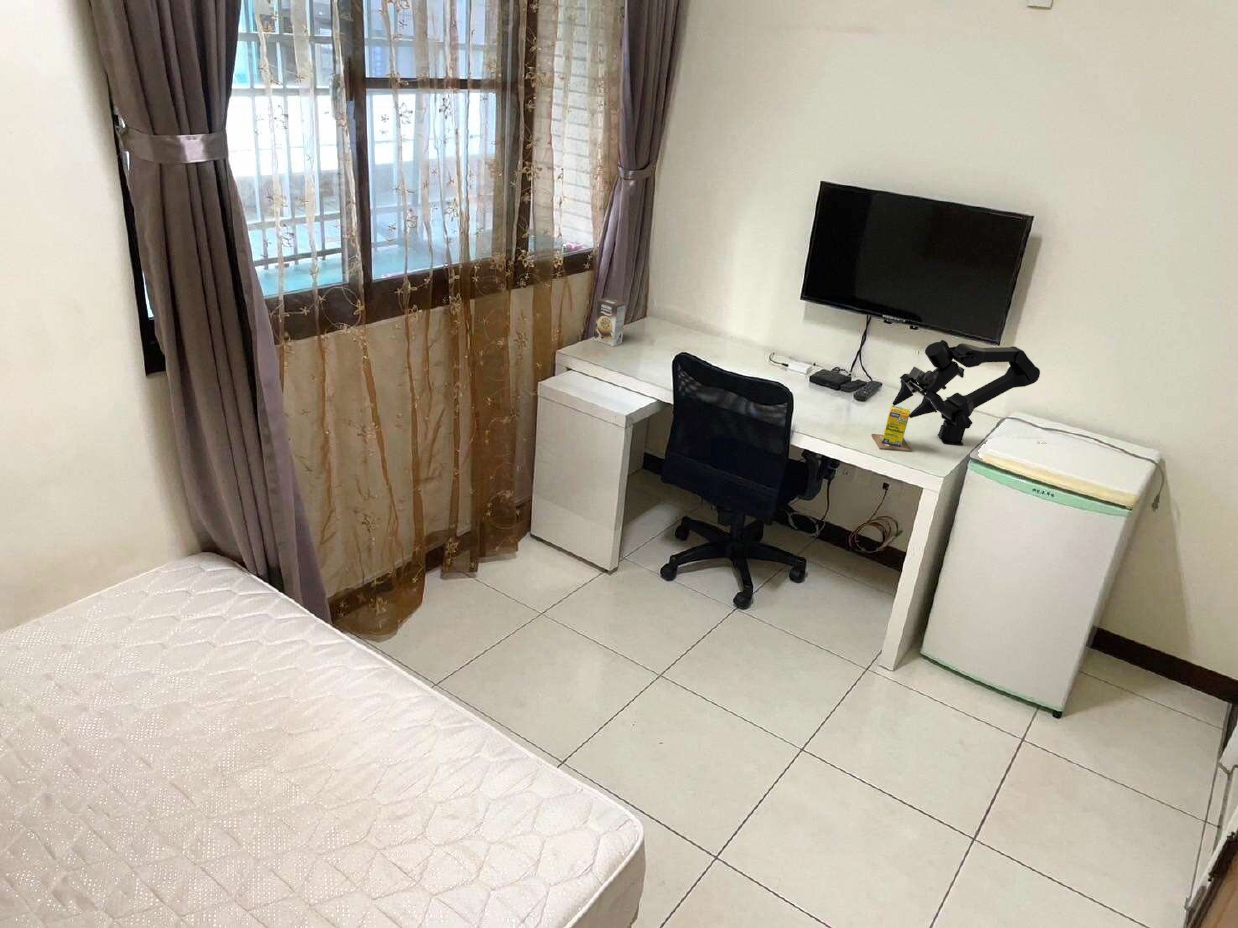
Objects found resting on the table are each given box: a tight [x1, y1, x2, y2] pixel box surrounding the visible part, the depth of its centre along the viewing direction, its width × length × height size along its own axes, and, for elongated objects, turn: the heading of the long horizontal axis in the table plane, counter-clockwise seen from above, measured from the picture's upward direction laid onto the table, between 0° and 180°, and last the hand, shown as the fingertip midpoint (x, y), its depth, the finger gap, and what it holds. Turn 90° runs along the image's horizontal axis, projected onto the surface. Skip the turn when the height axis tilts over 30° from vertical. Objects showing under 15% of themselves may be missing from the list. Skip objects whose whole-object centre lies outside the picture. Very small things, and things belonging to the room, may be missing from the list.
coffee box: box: [594, 296, 627, 347], centre depth 335 cm, size 9×6×16 cm
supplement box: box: [882, 404, 911, 447], centre depth 276 cm, size 6×6×11 cm
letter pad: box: [870, 433, 912, 453], centre depth 279 cm, size 10×10×1 cm
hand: (901, 410), depth 274 cm, fingers open, 9 cm apart
